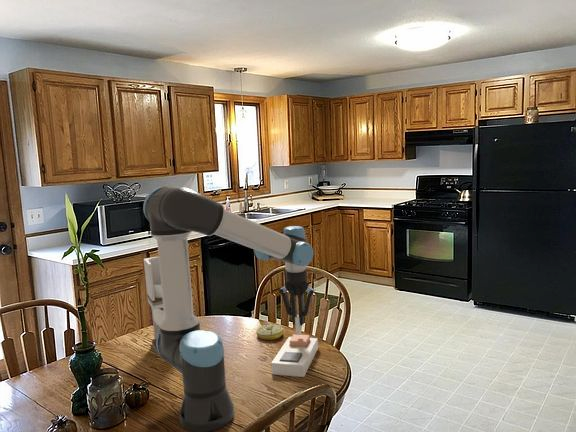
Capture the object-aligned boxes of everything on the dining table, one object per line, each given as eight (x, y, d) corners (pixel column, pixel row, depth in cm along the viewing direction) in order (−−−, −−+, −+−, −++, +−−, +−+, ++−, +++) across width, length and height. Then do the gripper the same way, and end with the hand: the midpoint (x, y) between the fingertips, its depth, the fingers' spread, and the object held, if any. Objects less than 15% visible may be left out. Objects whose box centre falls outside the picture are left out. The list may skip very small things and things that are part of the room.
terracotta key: (306, 349, 162) (305, 341, 162) (289, 348, 164) (289, 340, 163) (309, 342, 168) (309, 335, 167) (294, 341, 169) (293, 334, 169)
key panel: (304, 377, 148) (303, 365, 148) (271, 374, 151) (271, 362, 151) (318, 348, 169) (317, 338, 169) (289, 346, 172) (289, 336, 172)
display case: (152, 344, 182) (143, 258, 177) (178, 338, 186) (171, 254, 182) (157, 354, 171) (148, 264, 167) (185, 348, 176) (177, 259, 171)
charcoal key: (297, 369, 151) (297, 360, 150) (280, 367, 152) (280, 359, 152) (302, 361, 157) (301, 352, 156) (285, 359, 158) (285, 351, 158)
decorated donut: (267, 329, 191) (267, 320, 191) (288, 334, 185) (288, 325, 185) (251, 338, 183) (251, 329, 182) (273, 343, 177) (272, 334, 176)
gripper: (316, 267, 164) (318, 330, 167) (281, 266, 167) (284, 328, 170) (311, 272, 157) (314, 338, 159) (275, 271, 160) (278, 336, 163)
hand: (298, 333), depth 165 cm, fingers closed
